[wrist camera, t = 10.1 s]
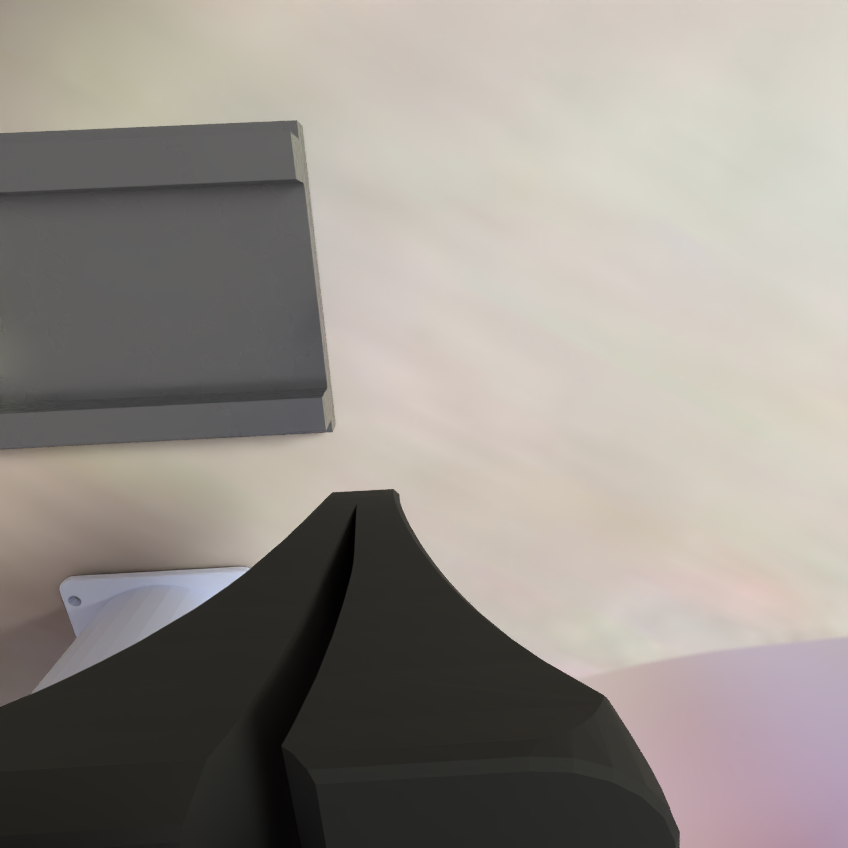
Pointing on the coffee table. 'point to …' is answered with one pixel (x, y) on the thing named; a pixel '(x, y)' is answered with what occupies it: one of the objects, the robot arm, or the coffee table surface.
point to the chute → (159, 286)
